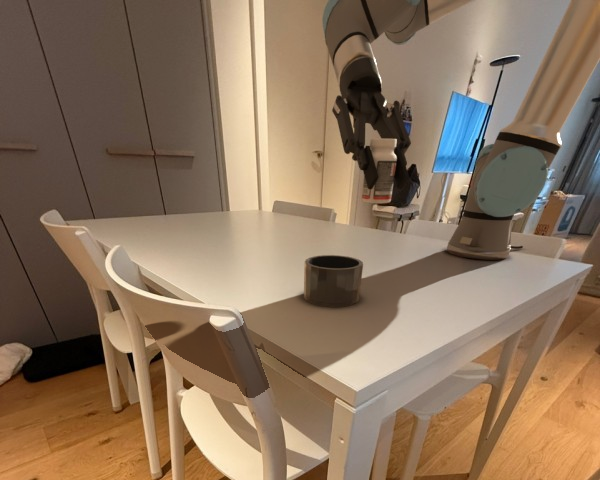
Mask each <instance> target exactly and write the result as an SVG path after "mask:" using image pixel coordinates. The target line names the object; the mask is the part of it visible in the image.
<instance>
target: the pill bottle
mask: <svg viewBox="0 0 600 480" xmlns="http://www.w3.org/2000/svg"><path fill="white" fill-rule="evenodd" d="M396 143H397V139H382V138H371V139H370V143H369V146H370V149H371V152H372V155H373V159H374V162H375V166H376V169H377V173H378V176H379V178H378V180H377V182H376V183H375V185H374V187H373V188H372V189H368V186H367V183H366V179H365V176H364V175H363V184H362V193H361V201H362V202H363V203H367V204H388V203H391V201H392V196H393V189H394V183H395V177H394V176H395V169H396V163H397V157H396V155H395V154H394V149H395V147H396Z"/></svg>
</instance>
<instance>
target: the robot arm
mask: <svg viewBox="0 0 600 480" xmlns="http://www.w3.org/2000/svg"><path fill="white" fill-rule="evenodd" d="M475 1H476V0H328V1H326V4H325V6H324V9H323V13H322V20H321V21H322V28H323V34H324V42H325V45H326V47H327V51H328V53H329V57H330V60H331V64H332V67H333V71H334V75H335V78H336V82H337V85H338V88H339V93H340V95H337V96H336V98H335V101H334V104H333V106H332V109H331V111H332V114H333V115H334V117H335V119H336V121H337V125H338V130H339V134H340V135H339V136H340V139H341V143H342V144H341V145H342V148H343V151H344V153H345V154H346V155H350V153H351V154H352V157H351V159H352V160H353V161H354V162H357V165H358V169H359V170H360V171H362V172H363V177H364V176H365V179H366V183H367V186H368V189H372V188H373V187H374V185H375V183H376V182H377V180H378V178H379V176H378V173H377V169H376V166H375V162H374V159H373V155H372V152H371V147H370V145H366V124H369V125H370V126H371V128H372V129H373V131H376V132H377V133H378V136H379V137H380V139H397V143H396V147H395V149H394V154H395V155H396V157H397V163H396V169H395V176H394V182H395V184H396V187H397V190H403V188H404V187H405V185H406V183H407V182H408V180H409V179H410V175H409V172H408V168H407V166H408V161H407V158H406V155H405V154H406V153H407V151H408V150H409V148H410V147H411V144H412V141H411V139H410V136H409V133H408V130H407V127H406V123H405V122H404V119H403V116H402V114H401V103H400V102H399V100H394V101H393V103H390V102H387V99H386V97H385V96H384V94H383V92H382V90H383V89H382V78H381V74H380V71H379V67H378V65H377V62H376V57H375V55H374V51H373V49H372V46H371V45H372V43H373V42H374V41H376V40H377V39H379V38H380V36H382V35H383V34H384V35H385V36H386V38H387V39H388V40H389V41H390V42H391V43H392V44H394V45H397V46H403V45H405V44H407V43H409V42H410V41H411V40H412V39H413V38H414V37H415V35H416V33H417V32H419V31H421V30H423V29H425V28H427V27H428V26H429V25H432V24H433V23H435V22H438V21H439V20H441V19H443V18H444V17H446V16H448V15H450V14H453V13H454V12H456V11H458V10H460V9H461V8H463V7H465V6H467V5H469V4H471V3H473V2H475ZM599 63H600V0H570V1H569V4H568V5H567V8H566V10H565V12H564V14H563V16H562V18H561V20H560V22H559V25H558V26H557V29H556V31H555V33H554V35H553V36H552V39H551V41H550V43H549V45H548V48H547V49H546V52H545V54H544V56H543V58H542V60H541V63H540V65H539V67H538V68H537V71H536V73H535V74H534V77H533V78H532V81H531V83H530V86H529V87H528V89H527V91H526V93H525V96H524V97H523V100H522V101H521V104H520V106H519V108H518V110H517V112H516V115H515V116H514V118H513V120H512V122H510V123H509V124H508V125H506V126H505V127H503V128H502V129H500V130H499V132H498V134H497V136H496V139H495V140H494V143H490V144H487V145H485V146H483V147H482V148H481V150H480V151H479V153H478V157H477V158H476V161H475V164H474V165H475V167H474V171H473V175H472V179H471V182H470V187H469V190H468V194H467V198H466V202H465V205H464V209H463V213H462V216H461V220H460V221H459V223H458V225H457V226H456V228H455V230H454V232H453V234H452V236H451V237H450V239H449V240H448V242H447V245H446V252H447V253H449V254H451V255H454V256H457V257H461V258H467V259H473V260H474V259H475V260H485V261H486V260H487V261H495V260H496V261H497V260H505V259H508V257H509V255H510V252H511V249H513V250H515V249H516V250H518V249H523V248H524V246H523V245H511V240H512V239H511V238H512V224H513V223H512V222H513V219H514V217H515V215H517V214H519V213H521V212H523V211H524V210H526V209H527V208H528V207H530V206H531V205H532V204H533V203H534V202H535V201H536V200H537V198H539V196H540V195H541V193H542V192H543V190H544V188H545V186H546V183H547V179H548V175H549V169H550V168H551V165H552V164H553V162H554V161H555V158H556V157H557V155H558V152H559V151H560V149H561V148H562V145H563V144H562V139H561V131H562V128H563V127H564V125H565V123H566V122H567V120H568V118H569V116H570V115H571V113H572V111H573V109H574V107H575V105H576V104H577V102H578V100H579V98H580V97H581V95H582V93H583V91H584V89H585V87H586V85H587V83H588V82H589V80H590V79H591V77H592V75H593V73H594V71H595V69H596V67H597V66H598V64H599ZM351 117H352V119H353V121H352V119H351Z"/></svg>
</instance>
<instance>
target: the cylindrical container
mask: <svg viewBox="0 0 600 480" xmlns="http://www.w3.org/2000/svg"><path fill="white" fill-rule="evenodd" d="M363 269H364V262H363V261H362V260H360V259H358V258H355V257H351V256H346V255H337V254H328V255H327V254H322V255H314V256H311V257H308V258H306V259H305V260H304V275H303V298H304V300H305V301H306V302H308V303H310V304H312V305H315V306H319V307H325V308H343V307H348V306H353V305H355V304H356V303H358V302H359V300H360V294H361V293H360V292H361V286H362V276H363Z"/></svg>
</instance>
